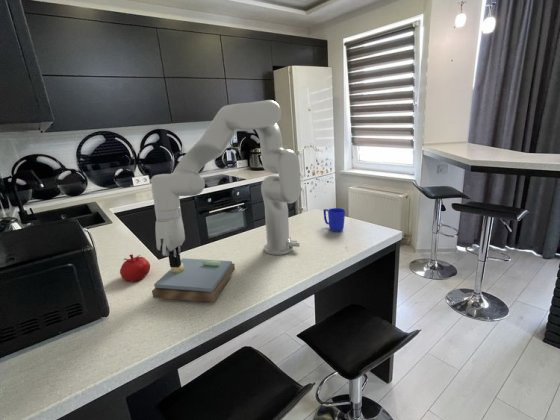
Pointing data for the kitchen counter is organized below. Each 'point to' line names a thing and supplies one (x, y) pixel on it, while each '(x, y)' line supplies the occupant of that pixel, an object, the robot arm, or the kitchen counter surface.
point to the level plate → (194, 275)
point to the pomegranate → (134, 268)
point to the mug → (335, 218)
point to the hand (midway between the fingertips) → (175, 266)
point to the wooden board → (193, 294)
